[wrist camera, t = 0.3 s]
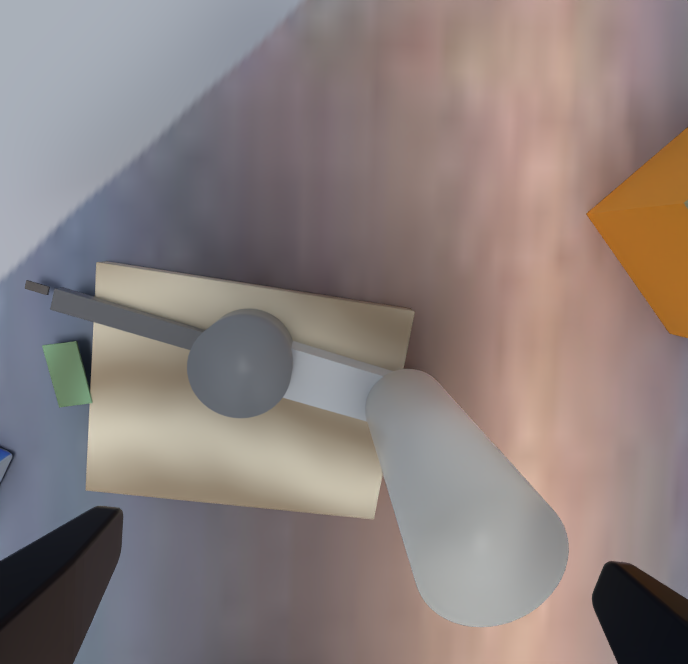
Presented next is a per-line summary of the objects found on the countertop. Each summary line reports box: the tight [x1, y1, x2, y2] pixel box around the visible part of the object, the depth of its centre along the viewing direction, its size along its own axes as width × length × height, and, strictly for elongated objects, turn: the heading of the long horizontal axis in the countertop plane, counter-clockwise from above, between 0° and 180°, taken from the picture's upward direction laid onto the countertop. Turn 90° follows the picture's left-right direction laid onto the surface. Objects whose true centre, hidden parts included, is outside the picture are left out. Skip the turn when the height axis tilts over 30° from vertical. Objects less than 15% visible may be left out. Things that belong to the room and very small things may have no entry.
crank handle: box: [50, 287, 569, 627], centre depth 15 cm, size 19×4×12 cm, turn 72°
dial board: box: [25, 261, 415, 519], centre depth 22 cm, size 12×19×1 cm, turn 81°
